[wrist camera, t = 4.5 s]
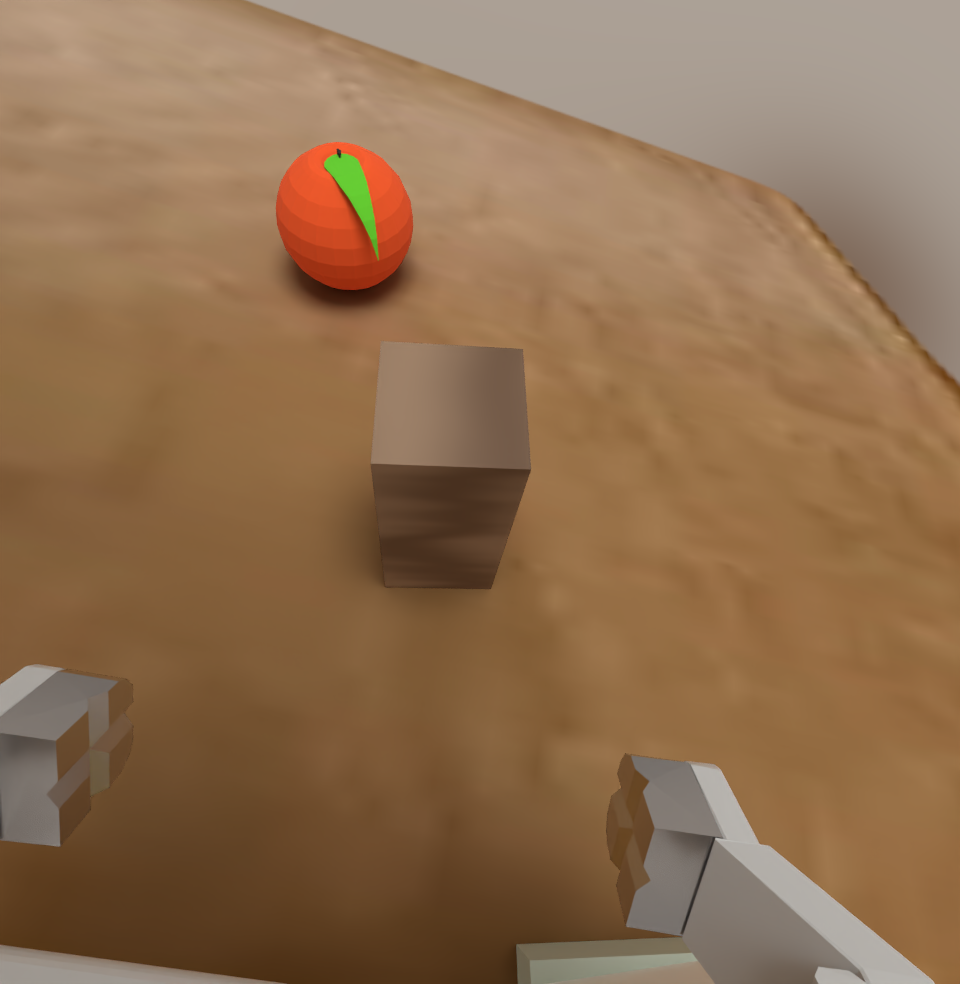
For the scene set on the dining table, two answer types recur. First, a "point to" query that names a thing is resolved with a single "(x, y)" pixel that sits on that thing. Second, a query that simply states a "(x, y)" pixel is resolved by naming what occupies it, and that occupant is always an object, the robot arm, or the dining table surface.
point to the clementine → (344, 216)
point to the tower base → (595, 958)
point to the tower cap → (652, 976)
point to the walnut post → (448, 461)
